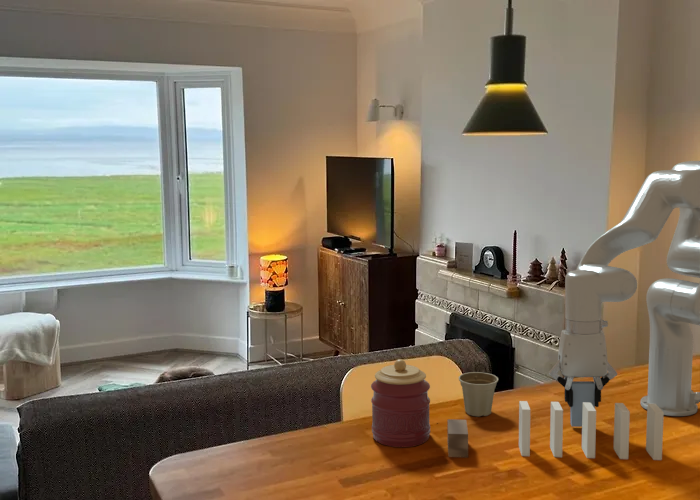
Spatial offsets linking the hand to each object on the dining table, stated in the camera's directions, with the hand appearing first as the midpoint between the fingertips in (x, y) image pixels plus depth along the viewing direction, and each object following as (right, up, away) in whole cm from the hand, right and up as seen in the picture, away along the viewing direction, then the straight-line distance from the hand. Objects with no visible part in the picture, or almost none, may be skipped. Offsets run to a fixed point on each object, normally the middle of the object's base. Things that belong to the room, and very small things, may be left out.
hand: (582, 404), depth 155 cm
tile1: (+10, -7, -14) cm, 18 cm away
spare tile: (0, -5, +1) cm, 5 cm away
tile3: (-3, -7, -12) cm, 15 cm away
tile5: (-16, -8, -11) cm, 21 cm away
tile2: (+3, -7, -13) cm, 15 cm away
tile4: (-9, -7, -11) cm, 17 cm away
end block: (-30, -8, -9) cm, 32 cm away
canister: (-41, -7, -2) cm, 42 cm away
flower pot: (-21, -5, +12) cm, 25 cm away
